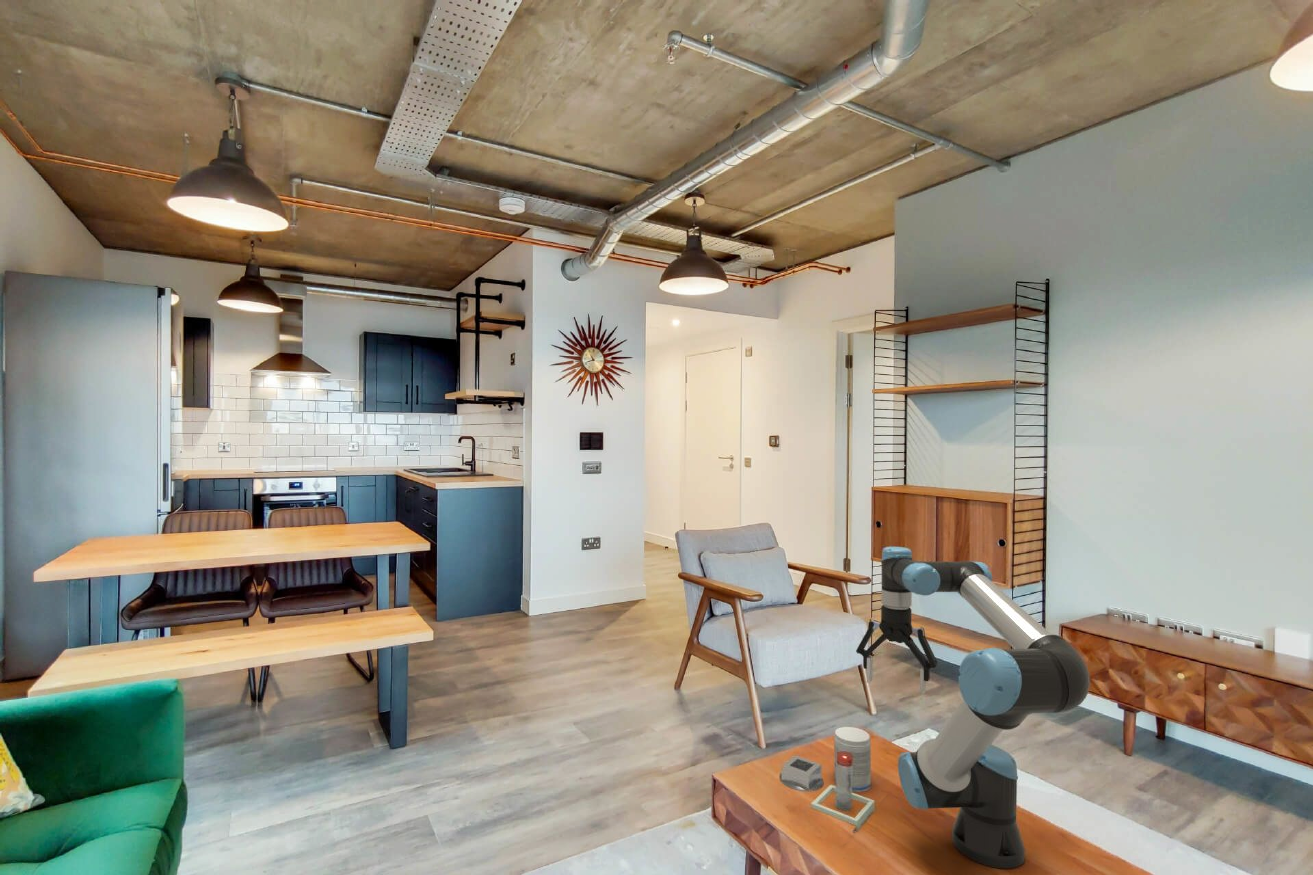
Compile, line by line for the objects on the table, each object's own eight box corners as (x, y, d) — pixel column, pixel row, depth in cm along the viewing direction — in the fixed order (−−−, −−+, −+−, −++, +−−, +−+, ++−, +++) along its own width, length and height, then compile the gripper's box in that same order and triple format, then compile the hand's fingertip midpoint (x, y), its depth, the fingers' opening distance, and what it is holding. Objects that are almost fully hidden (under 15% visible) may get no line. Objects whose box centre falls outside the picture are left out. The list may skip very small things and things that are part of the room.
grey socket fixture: (831, 783, 178) (831, 763, 178) (812, 802, 169) (812, 781, 169) (791, 769, 186) (791, 750, 186) (771, 786, 176) (771, 766, 176)
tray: (874, 810, 166) (874, 800, 166) (856, 831, 156) (856, 821, 156) (830, 793, 173) (830, 784, 173) (810, 813, 164) (811, 803, 164)
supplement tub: (876, 788, 176) (877, 734, 176) (859, 801, 170) (860, 745, 170) (844, 774, 183) (845, 722, 183) (827, 786, 177) (828, 732, 177)
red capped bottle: (853, 808, 165) (855, 754, 165) (847, 815, 162) (849, 760, 162) (838, 803, 167) (840, 749, 167) (832, 809, 164) (834, 755, 164)
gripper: (949, 610, 166) (949, 693, 166) (853, 596, 180) (853, 673, 180) (944, 616, 160) (943, 702, 159) (845, 601, 174) (844, 680, 174)
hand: (895, 687), depth 170 cm, fingers open, 13 cm apart
